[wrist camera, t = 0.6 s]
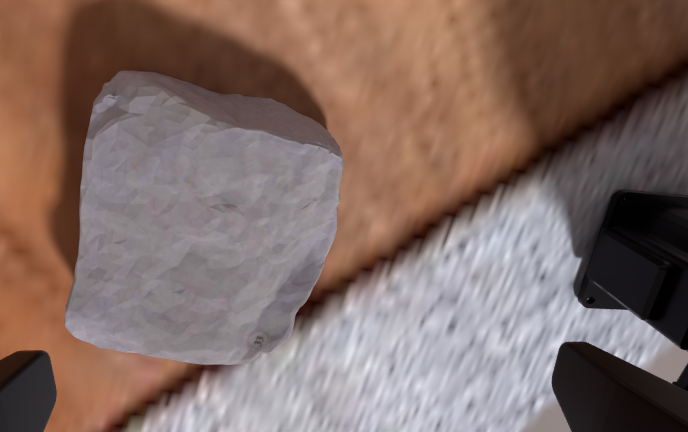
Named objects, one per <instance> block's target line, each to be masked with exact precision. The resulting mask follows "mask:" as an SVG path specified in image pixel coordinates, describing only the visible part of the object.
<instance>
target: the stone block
mask: <svg viewBox="0 0 688 432" xmlns="http://www.w3.org/2000/svg"><path fill="white" fill-rule="evenodd" d="M343 167H344V162H343V156H342V152H341V150H340V147H339V145H338V144H337V142H336V141H335V139H334V138H333V137H332V136H331V134H330V133H329V132H328V131H327V130H326V129H325V128H324V127H323V126H322V125H321V124H320V123H318V122H316V121H315V120H313V119H312V118H310V117H307V116H304V115H302V114H300V113H298V112H296V111H294V110H293V109H291V108H290V107H288V106H287V105H286V104H283V103H280V102H277V101H275V100H274V99H271V98H260V97H249V96H243V95H241V94H239V93H234V94H225V95H223V94H220V93H217V92H214V91H209V90H207V89H205V88H203V87H201V86H196V85H194V84H192V83H189V82H185V81H182V80H179V79H176V78H173V77H170V76H167V75H163V74H160V73H157V72H143V71H119V72H118V73H117V74H116V75H115V76H114V77H113V78H112V79H111V81H110V82H107V83H104V85H103V86H102V91H101V92H100V94H99V95H98V96H97V98H96V99H95V101H94V102H93V109H92V113H91V119H90V124H89V128H88V132H87V137H86V142H85V147H84V154H83V169H82V180H81V187H80V206H79V215H80V240H79V252H78V257H77V262H76V266H75V277H74V281H73V284H72V287H71V291H70V294H69V297H68V301H67V304H66V310H65V324H64V325H65V327H66V328H67V329H68V330H69V332H70V333H71V334H72V335H73V336H74V337H76V338H77V339H80V340H83V341H86V342H89V343H92V344H94V345H95V346H97V347H100V348H104V349H114V350H118V351H121V352H133V353H139V354H143V355H149V356H154V357H160V358H167V359H172V360H177V361H182V362H183V361H184V362H188V363H196V364H225V365H231V364H247V363H251V362H252V361H253V360H254V359H255V358H256V357H257V356H259V355H260V354H271V353H273V352H274V351H275V350H276V349H277V348H278V347H280V346H281V345H282V344H283V343H285V342H286V341H287V340H288V339H289V338H290V336H291V334H292V331H293V327H294V319H295V315H296V313H297V311H298V309H299V308H300V307H301V306H302V305H303V304H304V303H305V302H306V301H307V299H308V297H309V295H310V293H311V291H312V289H313V287H314V285H315V284H316V282H317V280H318V278H319V276H320V274H321V271H322V268H323V266H324V263H325V261H326V256H327V254H328V252H329V250H330V247H331V245H332V243H333V241H334V238H335V234H336V228H337V209H336V207H337V206H338V204H339V203H340V195H339V185H340V182H341V175H342V171H343Z"/></svg>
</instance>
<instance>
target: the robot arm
mask: <svg viewBox="0 0 688 432" xmlns="http://www.w3.org/2000/svg"><path fill="white" fill-rule="evenodd" d="M624 197H625V200H624V201H623V202H622V203H621V200H622V199H623V198H624ZM590 296H591V297H590ZM588 297H590V298H589V299H588ZM587 299H588V300H587ZM578 301H579V302H580V303H581V304H582V305H583V306H584V307H586V308H597V309H621V310H629V311H631V312H632V313H633V314H635V315H636V316H637V317H638V318H640V319H641V320H644V321H646V322H647V323H648V324H649V325H651V326H652V327H653V328H655V329H656V330H657V331H659V332H660V333H661V334H662V335H664V336H665V337H666V338H668V339H669V340H670V341H671V342H673V343H674V344H675V345H677V346H678V347H679V348H681V349H683V350H686V351H687V352H688V195H678V194H667V193H655V192H644V191H633V190H619V191H617V192H615V193H614V194H613V196H612V197H611V200H610V203H609V206H608V209H607V212H606V215H605V217H604V220H603V223H602V226H601V229H600V232H599V235H598V238H597V241H596V244H595V247H594V250H593V253H592V256H591V259H590V262H589V265H588V268H587V271H586V274H585V277H584V280H583V283H582V286H581V288H580V291H579V294H578ZM552 388H553V391H554V394H555V396H556V398H557V400H558V403H559V405H560V407H561V409H562V411H563V414H564V416H565V418H566V420H567V423H568V425H569V427H570V429H571V431H572V432H688V363H687V365H686V366H685V368H684V370H683V371H682V373H681V375H680V376H679V378H678V379H677V381H676V382H673V383H672V384H671V383H669V382H667V381H665V380H663V379H661V378H659V377H657V376H655V375H653V374H651V373H649V372H647V371H645V370H643V369H641V368H639V367H636V366H634V365H632V364H630V363H628V362H626V361H624V360H622V359H620V358H618V357H616V356H614V355H612V354H610V353H608V352H606V351H604V350H602V349H599V348H597V347H595V346H593V345H591V344H589V343H587V342H565V343H563V344H562V345H561V346H560V348H559V351H558V355H557V359H556V363H555V367H554V371H553V375H552ZM56 396H57V391H56V385H55V380H54V375H53V370H52V365H51V360H50V357H49V355H48V353H47V352H45V351H43V350H29V351H17V352H15V353H13V354H11V355H9V356H7V357H5V358H3V359H1V360H0V432H44V430H45V427H46V425H47V422H48V420H49V418H50V415H51V413H52V410H53V408H54V405H55V402H56Z"/></svg>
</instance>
